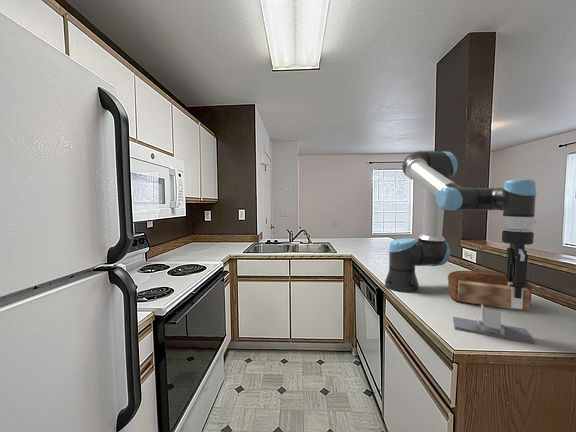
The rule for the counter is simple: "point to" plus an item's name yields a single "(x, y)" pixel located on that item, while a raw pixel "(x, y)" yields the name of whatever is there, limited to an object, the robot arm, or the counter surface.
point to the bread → (478, 280)
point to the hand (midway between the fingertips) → (514, 305)
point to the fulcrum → (492, 325)
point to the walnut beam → (489, 294)
